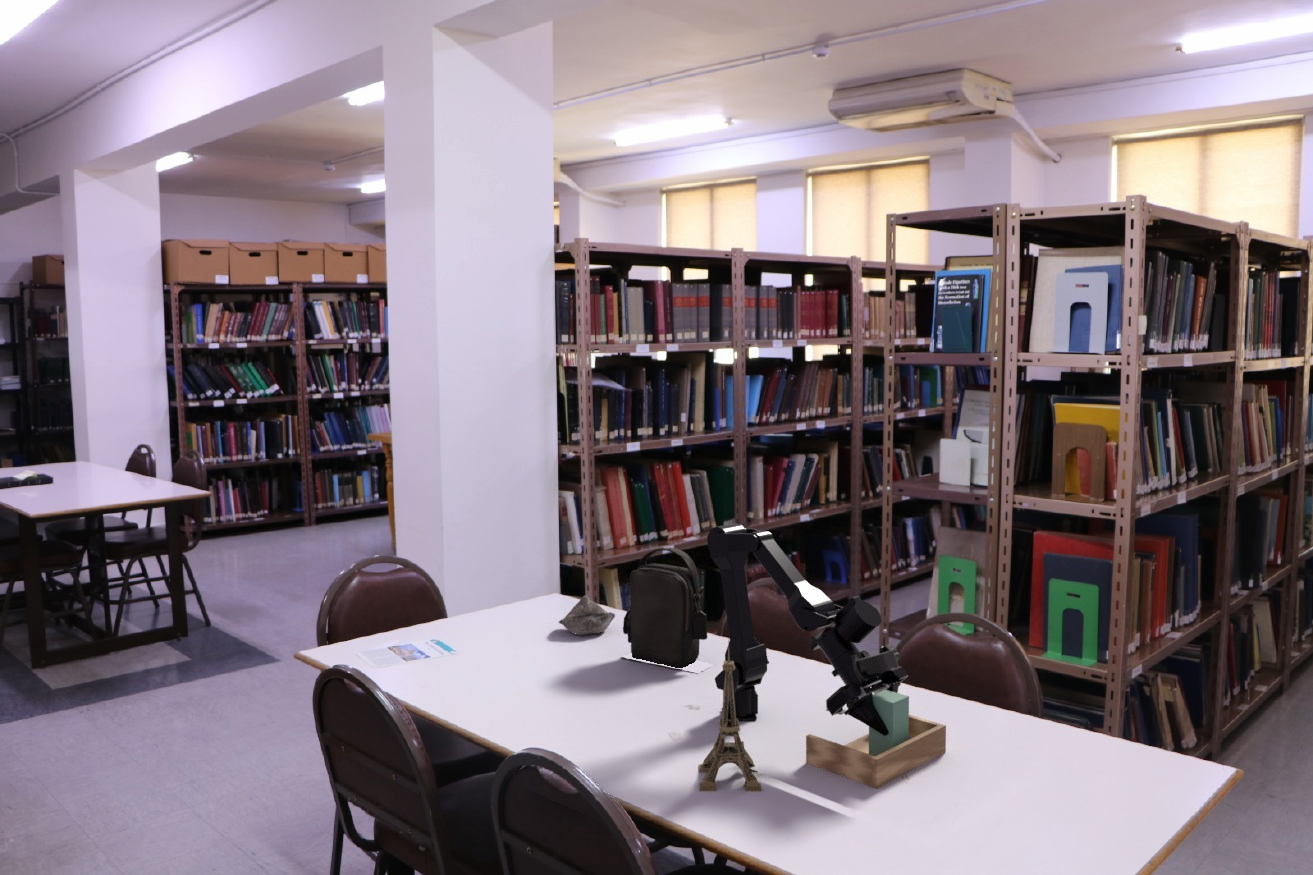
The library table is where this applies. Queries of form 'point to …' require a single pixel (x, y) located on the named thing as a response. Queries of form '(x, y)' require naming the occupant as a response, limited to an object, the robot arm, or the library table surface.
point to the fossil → (587, 617)
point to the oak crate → (886, 766)
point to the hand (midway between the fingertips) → (895, 730)
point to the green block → (890, 721)
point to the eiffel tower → (728, 750)
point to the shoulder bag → (665, 612)
